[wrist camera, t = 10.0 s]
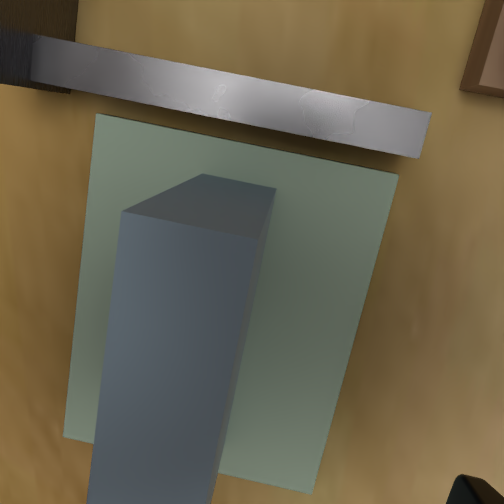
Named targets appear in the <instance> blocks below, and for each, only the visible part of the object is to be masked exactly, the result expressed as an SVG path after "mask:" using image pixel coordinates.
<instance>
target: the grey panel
mask: <svg viewBox="0 0 504 504" xmlns="http://www.w3.org/2000/svg"><path fill="white" fill-rule="evenodd" d="M276 189H277V188H272V187H267V186H262V185H257V184H252V183H247V182H242V181H237V180H232V179H227V178H222V177H217V176H213V175H208V174H203V173H202V174H200V175H198V176H196V177H194V178H191V179H189V180H187V181H185V182H183V183H181V184H179V185H176V186H174V187H172V188H170V189H168V190H166V191H164V192H161V193H159V194H157V195H155V196H153V197H151V198H148V199H146V200H144V201H142V202H140V203H138V204H136V205H133V206H131V207H129V208H127V209H125V210H123V211H121V218H120V227H119V235H118V243H117V252H116V260H115V269H114V277H113V285H112V294H111V302H110V311H109V319H108V327H107V336H106V344H105V353H104V361H103V369H102V378H101V386H100V395H99V403H98V411H97V420H96V428H95V437H94V445H93V453H92V462H91V470H90V479H89V487H88V495H87V504H211V500H212V495H213V491H214V487H215V483H216V478H217V474H218V470H219V465H220V461H221V457H222V453H223V448H224V444H225V439H226V434H227V429H228V424H229V419H230V414H231V410H232V405H233V400H234V395H235V390H236V385H237V380H238V375H239V370H240V365H241V361H242V356H243V351H244V346H245V341H246V336H247V331H248V326H249V321H250V317H251V312H252V307H253V302H254V297H255V292H256V287H257V282H258V277H259V272H260V268H261V263H262V258H263V253H264V248H265V243H266V238H267V233H268V228H269V223H270V219H271V214H272V209H273V204H274V199H275V194H276Z"/></svg>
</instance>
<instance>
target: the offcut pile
mask: <svg viewBox="0 0 504 504" xmlns="http://www.w3.org/2000/svg"><path fill="white" fill-rule="evenodd" d="M460 90H466V91H471V92H476V93H481V94H486V95H491V96H496V97H501V98H504V0H486V1H485V4H484V8H483V11H482V15H481V18H480V21H479V25H478V28H477V32H476V35H475V38H474V42H473V45H472V49H471V52H470V55H469V59H468V62H467V66H466V69H465V72H464V76H463V79H462V83H461V86H460Z"/></svg>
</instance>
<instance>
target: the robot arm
mask: <svg viewBox="0 0 504 504" xmlns="http://www.w3.org/2000/svg"><path fill="white" fill-rule="evenodd" d="M446 504H504V497H503V496H502V495H501V494H500V493H498V492H497V491H496V490H495V489H494V488H493V487H492V486H491V485H489V484H488V483H487V482H486V481H485V480H483V479H481V478H477V477H473V476H468V475H464V474H461V475H458V476H457V477H456V479H455V481H454V483H453V486H452V489H451V491H450V494H449V497H448V499H447V502H446Z"/></svg>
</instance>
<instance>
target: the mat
mask: <svg viewBox="0 0 504 504" xmlns="http://www.w3.org/2000/svg"><path fill="white" fill-rule="evenodd" d="M202 173H203V174H208V175H213V176H217V177H222V178H227V179H232V180H237V181H242V182H247V183H252V184H257V185H262V186H267V187H272V188H277V189H276V194H275V199H274V204H273V209H272V214H271V219H270V223H269V228H268V233H267V238H266V243H265V248H264V253H263V258H262V263H261V268H260V272H259V277H258V282H257V287H256V292H255V297H254V302H253V307H252V312H251V317H250V321H249V326H248V331H247V336H246V341H245V346H244V351H243V356H242V361H241V365H240V370H239V375H238V380H237V385H236V390H235V395H234V400H233V405H232V410H231V414H230V419H229V424H228V429H227V434H226V439H225V444H224V448H223V453H222V457H221V461H220V465H219V470H218V473H221V474H225V475H229V476H234V477H238V478H242V479H246V480H251V481H255V482H259V483H264V484H268V485H272V486H277V487H281V488H285V489H289V490H294V491H298V492H302V493H307V494H311V495H312V492H313V488H314V484H315V481H316V477H317V473H318V470H319V466H320V462H321V459H322V455H323V452H324V448H325V444H326V441H327V437H328V433H329V430H330V426H331V422H332V419H333V415H334V411H335V408H336V404H337V401H338V397H339V393H340V390H341V386H342V382H343V379H344V375H345V371H346V368H347V364H348V360H349V357H350V353H351V349H352V346H353V342H354V339H355V335H356V331H357V328H358V324H359V320H360V317H361V313H362V309H363V306H364V302H365V298H366V295H367V291H368V288H369V284H370V280H371V277H372V273H373V269H374V266H375V262H376V258H377V255H378V251H379V247H380V244H381V240H382V237H383V233H384V229H385V226H386V222H387V218H388V215H389V211H390V207H391V204H392V200H393V196H394V193H395V189H396V185H397V182H398V178H399V175H398V174H396V173H392V172H387V171H382V170H377V169H373V168H368V167H363V166H358V165H353V164H348V163H343V162H338V161H333V160H328V159H323V158H318V157H314V156H309V155H304V154H299V153H294V152H289V151H284V150H279V149H274V148H269V147H264V146H259V145H255V144H250V143H245V142H240V141H235V140H230V139H225V138H220V137H215V136H210V135H205V134H200V133H195V132H191V131H186V130H181V129H176V128H171V127H166V126H161V125H156V124H151V123H146V122H141V121H136V120H132V119H127V118H122V117H117V116H112V115H107V114H99V113H96V120H95V129H94V139H93V149H92V158H91V168H90V178H89V188H88V197H87V207H86V217H85V227H84V236H83V246H82V256H81V266H80V275H79V285H78V295H77V305H76V314H75V324H74V334H73V344H72V353H71V363H70V373H69V382H68V392H67V402H66V412H65V421H64V431H63V437H66V438H70V439H74V440H79V441H83V442H87V443H92V444H94V437H95V428H96V420H97V411H98V403H99V395H100V386H101V378H102V369H103V361H104V353H105V344H106V336H107V327H108V319H109V311H110V302H111V294H112V285H113V277H114V269H115V260H116V252H117V243H118V235H119V227H120V218H121V211H123V210H125V209H127V208H129V207H131V206H133V205H136V204H138V203H140V202H142V201H144V200H146V199H148V198H151V197H153V196H155V195H157V194H159V193H161V192H164V191H166V190H168V189H170V188H172V187H174V186H176V185H179V184H181V183H183V182H185V181H187V180H189V179H191V178H194V177H196V176H198V175H200V174H202Z"/></svg>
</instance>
